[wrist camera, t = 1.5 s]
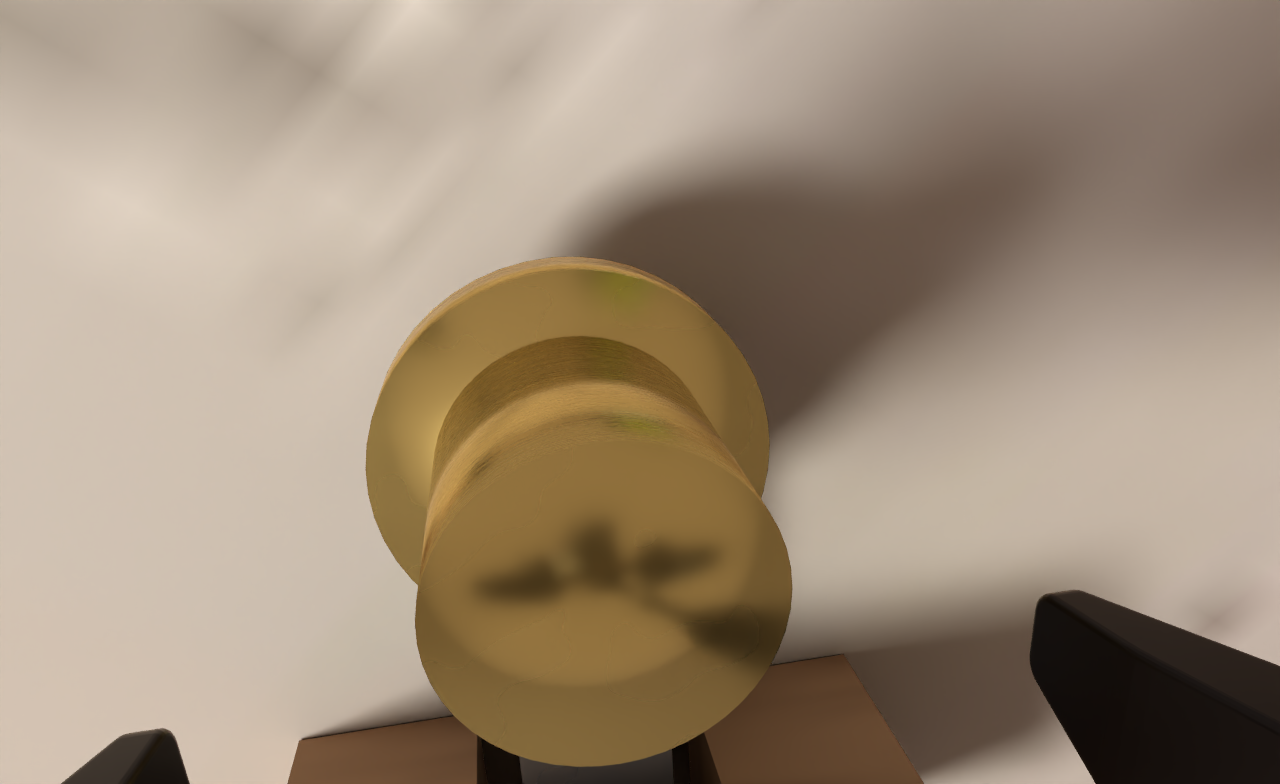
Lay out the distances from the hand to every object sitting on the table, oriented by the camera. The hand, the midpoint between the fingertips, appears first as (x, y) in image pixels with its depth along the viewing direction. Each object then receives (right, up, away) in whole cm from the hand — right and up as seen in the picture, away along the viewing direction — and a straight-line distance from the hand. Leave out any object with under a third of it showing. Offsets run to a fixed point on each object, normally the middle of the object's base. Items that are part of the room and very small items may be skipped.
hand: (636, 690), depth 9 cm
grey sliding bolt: (-1, -2, +11) cm, 11 cm away
